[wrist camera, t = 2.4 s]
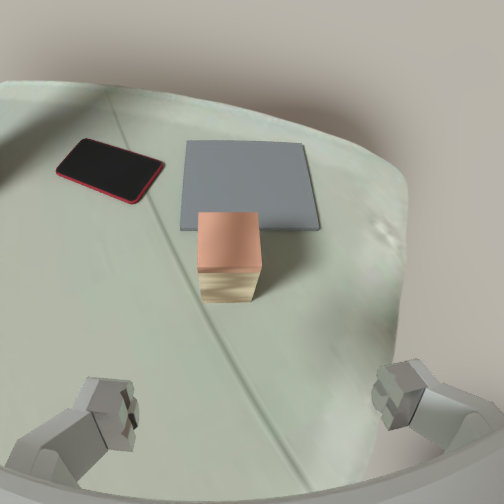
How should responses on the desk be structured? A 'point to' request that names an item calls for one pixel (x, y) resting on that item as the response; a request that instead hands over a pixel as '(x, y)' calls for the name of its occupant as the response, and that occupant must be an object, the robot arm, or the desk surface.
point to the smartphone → (109, 170)
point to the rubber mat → (248, 183)
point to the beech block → (228, 256)
